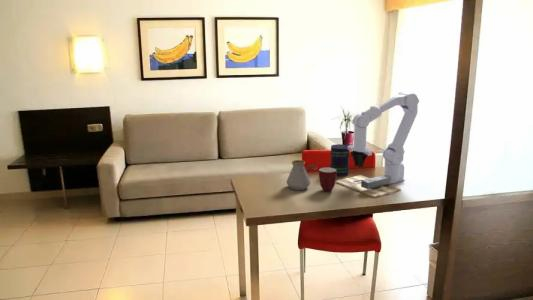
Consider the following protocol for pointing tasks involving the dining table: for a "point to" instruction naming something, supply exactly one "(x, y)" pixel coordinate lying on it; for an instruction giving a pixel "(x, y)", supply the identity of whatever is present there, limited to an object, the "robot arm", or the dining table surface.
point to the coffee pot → (299, 176)
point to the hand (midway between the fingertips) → (358, 166)
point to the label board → (373, 192)
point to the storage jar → (340, 159)
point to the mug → (327, 178)
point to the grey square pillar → (376, 181)
